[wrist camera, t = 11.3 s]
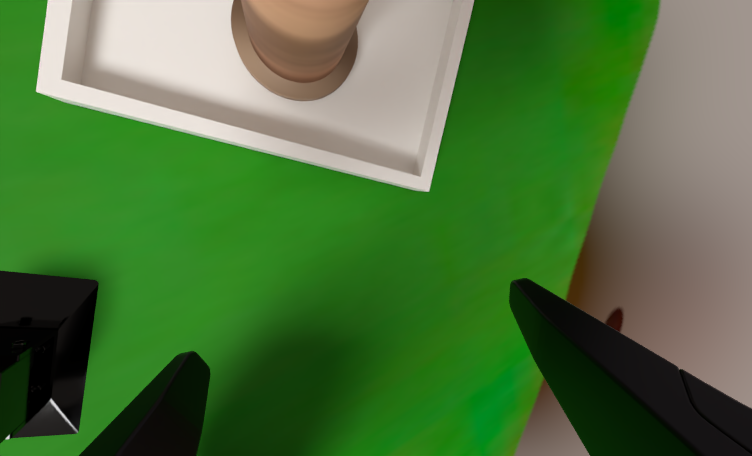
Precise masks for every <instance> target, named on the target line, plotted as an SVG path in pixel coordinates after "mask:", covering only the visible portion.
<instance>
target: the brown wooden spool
mask: <svg viewBox="0 0 752 456" xmlns="http://www.w3.org/2000/svg"><path fill="white" fill-rule="evenodd" d="M368 1H369V0H234V1H233V5H232V10H231V29H232V34H233V39H234V42H235V45H236V48H237V51H238V54H239V56H240V58H241V60H242V62H243V64H244V65H245V67H246V69H247V70H248V71H249V73H250V74H251V75H252V76H253V77H254V78H255V79H256V81H257V82H258V83H260V84H261V85H262V86H263V87H264V88H266V89H267V90H269V91H271V92H272V93H274V94H276V95H278V96H280V97H283V98H286V99H290V100H294V101H313V100H318V99H321V98H324V97H326V96H328V95H330V94H331V93H333V92H334V91H336V90H337V89H338V88H339V87H340V86H341V85H342V84H343V82H344V81H345V80H346V78H347V77H348V75H349V73H350V71H351V70H352V68H353V65H354V63H355V59H356V56H357V49H358V34H357V27H356V26H357V24H358V22H359V20H360V18H361V16H362V14H363V12H364V10H365V8H366V5H367V3H368Z"/></svg>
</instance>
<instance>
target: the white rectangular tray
mask: <svg viewBox="0 0 752 456" xmlns="http://www.w3.org/2000/svg"><path fill="white" fill-rule="evenodd" d="M233 1H234V0H48V5H47V13H46V20H45V28H44V35H43V43H42V50H41V58H40V65H39V73H38V80H37V88H36V92H38V93H41V94H44V95H46V96H49V97H52V98H55V99H57V100H60V101H63V102H65V103H69V104H73V105H77V106H81V107H85V108H89V109H93V110H97V111H101V112H105V113H109V114H113V115H117V116H121V117H125V118H129V119H133V120H137V121H141V122H145V123H149V124H153V125H156V126H160V127H164V128H168V129H172V130H176V131H180V132H184V133H188V134H192V135H196V136H200V137H204V138H208V139H212V140H216V141H220V142H224V143H228V144H232V145H236V146H240V147H244V148H248V149H252V150H256V151H260V152H264V153H268V154H272V155H276V156H280V157H283V158H287V159H291V160H295V161H299V162H303V163H307V164H311V165H315V166H319V167H323V168H327V169H331V170H335V171H339V172H343V173H347V174H351V175H355V176H359V177H363V178H367V179H371V180H375V181H379V182H383V183H387V184H391V185H395V186H399V187H403V188H406V189H410V190H414V191H425V192H429V189H430V185H431V181H432V176H433V172H434V168H435V164H436V160H437V155H438V151H439V147H440V143H441V138H442V134H443V130H444V126H445V122H446V117H447V113H448V109H449V105H450V101H451V96H452V92H453V88H454V84H455V80H456V75H457V71H458V67H459V63H460V59H461V54H462V50H463V46H464V42H465V38H466V33H467V29H468V25H469V21H470V17H471V12H472V8H473V4H474V0H369V1H368V3H367V5H366V8H365V10H364V12H363V14H362V16H361V18H360V20H359V22H358V24H357V26H356V27H357V34H358V49H357V56H356V59H355V63H354V65H353V68H352V70H351V71H350V73H349V75H348V77H347V78H346V80H345V81H344V82H343V84H342V85H341V86H340V87H339V88H338V89H337V90H336V91H334V92H333V93H331V94H330V95H328V96H326V97H324V98H321V99H318V100H313V101H294V100H290V99H286V98H283V97H280V96H278V95H276V94H274V93H272V92H271V91H269V90H267V89H266V88H264V87H263V86H262V85H261V84H260V83H258V82H257V81H256V79H255V78H254V77H253V76H252V75H251V74H250V73H249V71H248V70H247V69H246V67H245V65H244V64H243V62H242V60H241V58H240V56H239V54H238V51H237V48H236V45H235V42H234V39H233V34H232V29H231V10H232V5H233Z"/></svg>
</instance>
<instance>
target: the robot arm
mask: <svg viewBox="0 0 752 456" xmlns="http://www.w3.org/2000/svg"><path fill="white" fill-rule="evenodd" d="M509 304H510V307H511V310H512V312H513V315H514V317H515V319H516V321H517V323H518V326H519V328H520V330H521V332H522V334H523V337H524V339H525V341H526V343H527V345H528V348H529V350H530V352H531V354H532V356H533V358H534V360H535V362H536V364H537V366H538V368H539V370H540V371H541V373H542V375H543V376H544V378H545V380H546V381H547V383H548V385H549V386H550V388H551V390H552V391H553V393H554V395H555V397H556V398H557V400H558V402H559V404H560V405H561V407H562V408H563V410H564V412H565V414H566V415H567V417H568V419H569V421H570V422H571V424H572V426H573V427H574V429H575V431H576V432H577V434H578V436H579V438H580V439H581V441H582V443H583V444H584V446H585V448H586V449H587V451H588V453H589V455H590V456H752V409H751V408H749V407H748V406H746V405H743V404H742V403H740V402H738V401H737V400H735V399H733V398H731V397H729V396H728V395H726V394H724V393H723V392H721V391H719V390H717V389H716V388H714V387H712V386H710V385H708V384H707V383H705V382H703V381H701V380H700V379H698V378H696V377H695V376H693V375H691V374H690V373H688V372H686V371H684V370H683V369H680V370H679V368H678V367H677V366H676V365H674V364H672V363H671V362H669V361H667V360H666V359H664V358H662V357H660V356H659V355H657V354H655V353H654V352H652V351H650V350H648V349H647V348H645V347H643V346H642V345H640V344H638V343H637V342H635V341H633V340H632V339H630V338H628V337H626V336H625V335H623V334H621V333H620V332H618V331H616V330H615V329H613V328H611V327H609V326H608V325H606V324H604V323H603V322H601V321H599V320H598V319H596V318H594V317H592V316H591V315H589V314H587V313H586V312H584V311H582V310H581V309H579V308H577V307H575V306H574V305H572V304H570V303H569V302H567V301H565V300H564V299H562V298H560V297H558V296H557V295H555V294H553V293H552V292H550V291H548V290H547V289H545V288H543V287H541V286H540V285H538V284H536V283H535V282H533V281H531V280H530V279H527V278H522V279H518V280H513V281H512V282H511V284H510V296H509ZM209 381H210V368H209V366H208V365H207V364H206V363H205V362H204V360H203V359H202V358H201V357H200V356H199V355H198V354H197V353H196V352H194V351H190V352H185V353H181V354H179V355H177V356H176V357H175V358H174V359H173V360H172V361H171V362H170V363H169V364H168V365H167V366H166V367H165V368H164V369H163V370H162V371H161V372H160V373H159V374H158V375H157V376H156V377H155V378H154V379H153V380H152V381H151V382H150V383H149V384H148V385H147V386H146V387H145V388H144V389H143V390H142V391H141V392H140V393H139V395H138V396H137V397H136V398H135V399H134V400H133V401H132V402H131V403H130V404H129V405H128V406H127V407H126V408H125V409H124V410H123V411H122V412H121V413H120V414H119V415H118V416H117V417H116V418H115V419H114V420H113V421H112V422H111V423H110V424H109V425H108V426H107V427H106V428H105V429H104V430H103V431H102V432H101V433H100V434H99V435H98V436H97V438H96V439H95V440H94V441H93V442H92V443H91V444H90V445H89V446H88V447H87V448H86V449H85V450H84V451H83V452H82V453H81V454H80V455H79V456H196V454H197V450H198V446H199V442H200V437H201V433H202V427H203V422H204V415H205V408H206V401H207V394H208V387H209Z"/></svg>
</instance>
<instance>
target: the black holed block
mask: <svg viewBox="0 0 752 456" xmlns="http://www.w3.org/2000/svg"><path fill="white" fill-rule="evenodd" d="M97 291H98V282H97V281H96V280H89V279H79V278H69V277H59V276H48V275H38V274H28V273H18V272H8V271H0V443H1V442H2V441H3V440H4V439H11V438H19V437H34V436H49V435H65V434H76V433H78V431H79V425H80V418H81V410H82V403H83V395H84V388H85V380H86V373H87V366H88V358H89V351H90V343H91V336H92V328H93V321H94V314H95V306H96V299H97Z"/></svg>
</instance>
